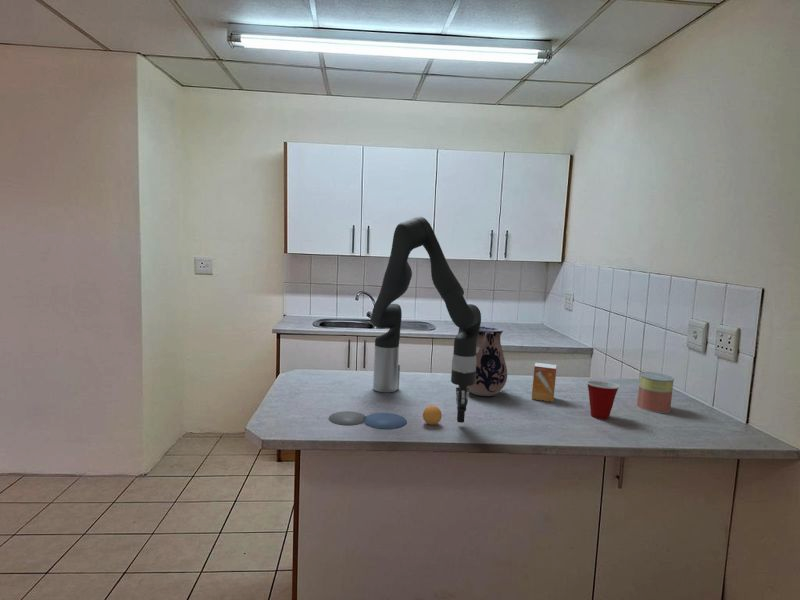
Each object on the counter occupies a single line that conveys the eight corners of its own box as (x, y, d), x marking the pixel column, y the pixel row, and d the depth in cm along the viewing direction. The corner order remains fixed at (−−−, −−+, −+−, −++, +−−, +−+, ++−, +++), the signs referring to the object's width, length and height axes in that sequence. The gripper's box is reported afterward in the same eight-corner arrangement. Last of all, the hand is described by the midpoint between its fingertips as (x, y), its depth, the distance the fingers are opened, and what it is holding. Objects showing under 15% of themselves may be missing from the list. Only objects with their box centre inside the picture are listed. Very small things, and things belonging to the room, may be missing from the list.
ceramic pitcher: (469, 401, 189) (474, 334, 186) (450, 384, 210) (454, 323, 207) (513, 399, 193) (518, 333, 190) (491, 383, 214) (495, 323, 211)
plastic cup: (615, 413, 182) (618, 380, 181) (617, 423, 172) (621, 389, 171) (583, 409, 186) (586, 376, 184) (583, 418, 176) (586, 384, 174)
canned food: (674, 408, 192) (678, 377, 190) (665, 415, 183) (668, 382, 182) (642, 400, 199) (645, 370, 198) (632, 407, 191) (635, 375, 189)
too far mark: (349, 409, 174) (350, 408, 174) (374, 419, 166) (374, 418, 166) (321, 417, 166) (321, 416, 166) (345, 428, 158) (345, 427, 158)
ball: (430, 419, 168) (431, 401, 168) (445, 424, 164) (446, 406, 163) (418, 423, 164) (419, 405, 163) (432, 429, 160) (433, 410, 159)
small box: (531, 399, 194) (534, 365, 193) (532, 394, 200) (534, 362, 199) (553, 402, 192) (556, 368, 190) (554, 397, 198) (556, 364, 196)
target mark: (385, 410, 175) (385, 409, 175) (415, 422, 165) (415, 421, 165) (354, 419, 165) (354, 419, 165) (384, 432, 155) (384, 432, 155)
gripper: (451, 362, 168) (448, 413, 170) (452, 373, 155) (449, 428, 157) (474, 363, 167) (471, 415, 170) (477, 374, 154) (473, 430, 157)
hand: (460, 421), depth 163 cm, fingers closed
